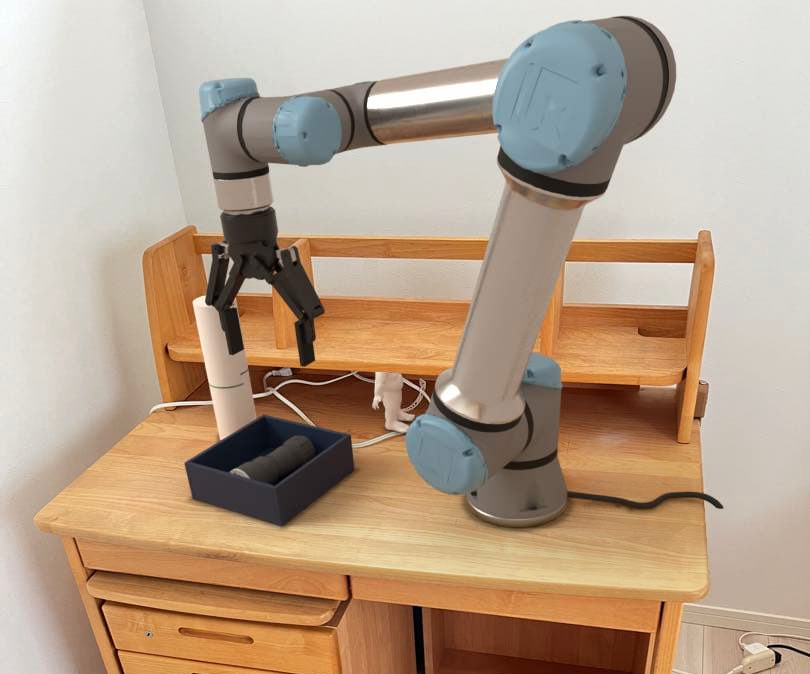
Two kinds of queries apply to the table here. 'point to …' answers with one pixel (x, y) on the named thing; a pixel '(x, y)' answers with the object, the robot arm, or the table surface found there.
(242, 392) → the cylindrical container
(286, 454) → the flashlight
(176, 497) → the table surface
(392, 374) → the toy creature
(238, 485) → the bin
